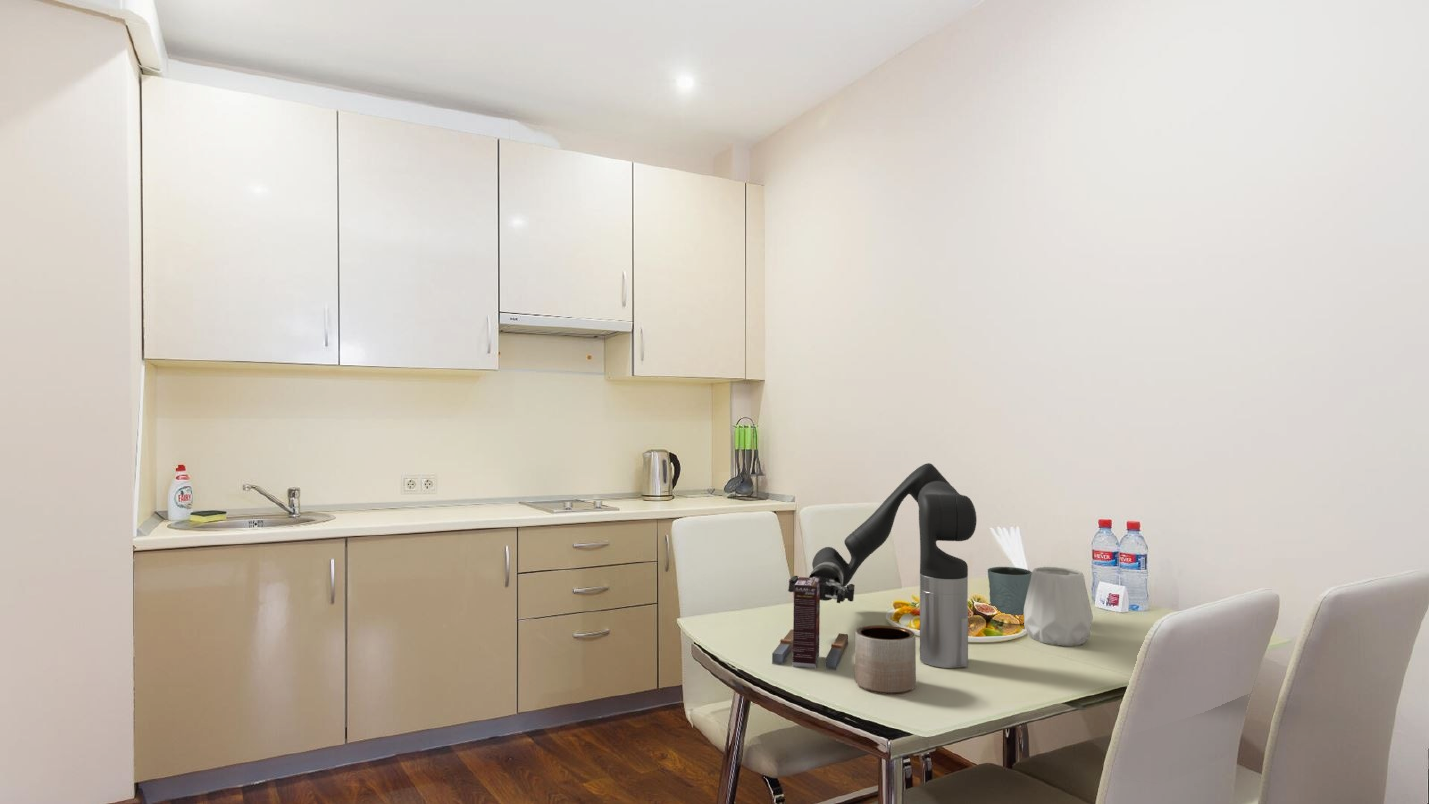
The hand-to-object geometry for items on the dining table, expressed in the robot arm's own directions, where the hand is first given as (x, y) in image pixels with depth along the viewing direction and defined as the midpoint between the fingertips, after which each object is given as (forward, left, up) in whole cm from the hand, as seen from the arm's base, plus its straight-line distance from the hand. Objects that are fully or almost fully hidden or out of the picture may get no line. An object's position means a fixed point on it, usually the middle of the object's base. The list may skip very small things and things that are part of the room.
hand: (818, 595), depth 169 cm
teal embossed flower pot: (-41, -37, -11) cm, 56 cm away
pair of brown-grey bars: (0, +6, -11) cm, 12 cm away
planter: (-16, +21, -11) cm, 28 cm away
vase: (-50, -22, -11) cm, 55 cm away
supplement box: (0, +11, -11) cm, 16 cm away
